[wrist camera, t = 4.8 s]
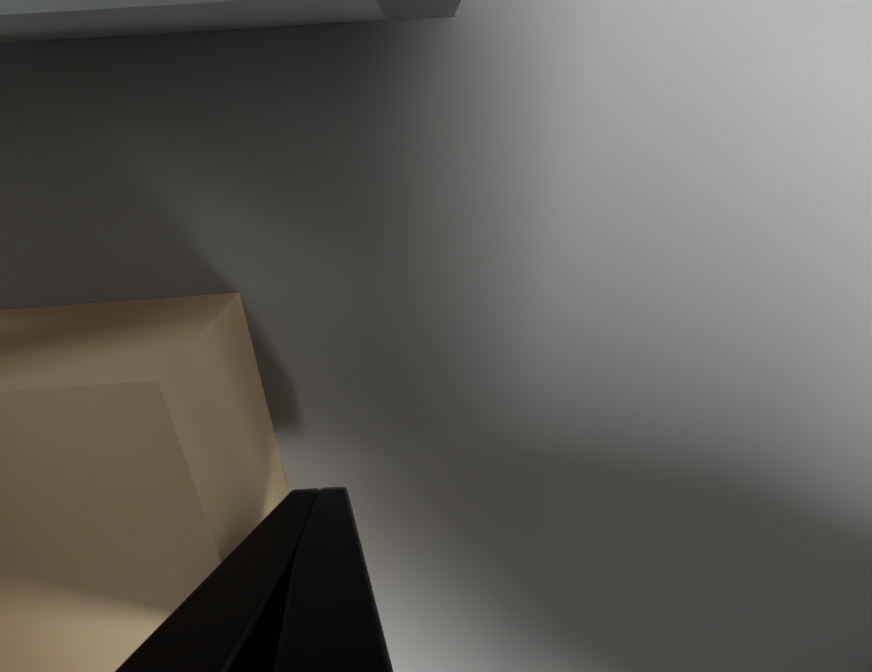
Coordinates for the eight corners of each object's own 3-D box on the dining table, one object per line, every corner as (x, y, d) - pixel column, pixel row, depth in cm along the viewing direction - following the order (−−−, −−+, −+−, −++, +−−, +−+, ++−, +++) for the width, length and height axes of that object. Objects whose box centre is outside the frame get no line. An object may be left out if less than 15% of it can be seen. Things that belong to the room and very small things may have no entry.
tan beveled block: (247, 282, 8) (158, 380, 5) (322, 593, 11) (288, 756, 8) (-193, 315, 8) (-496, 426, 6) (-2, 614, 11) (-138, 781, 9)
